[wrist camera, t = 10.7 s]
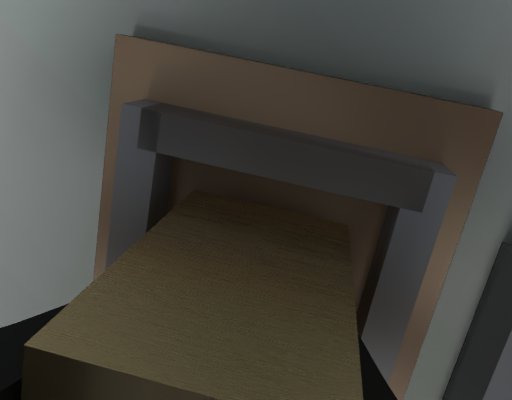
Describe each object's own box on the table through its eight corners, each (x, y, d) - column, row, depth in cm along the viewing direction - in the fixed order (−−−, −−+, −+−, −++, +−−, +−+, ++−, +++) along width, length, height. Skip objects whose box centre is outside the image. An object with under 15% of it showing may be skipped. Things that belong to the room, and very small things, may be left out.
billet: (304, 388, 13) (273, 717, 7) (168, 351, 14) (11, 628, 7) (348, 225, 12) (366, 440, 5) (194, 189, 12) (23, 345, 5)
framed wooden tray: (371, 458, 16) (377, 527, 14) (96, 381, 17) (57, 433, 15) (490, 109, 12) (527, 120, 10) (131, 36, 13) (87, 30, 11)
